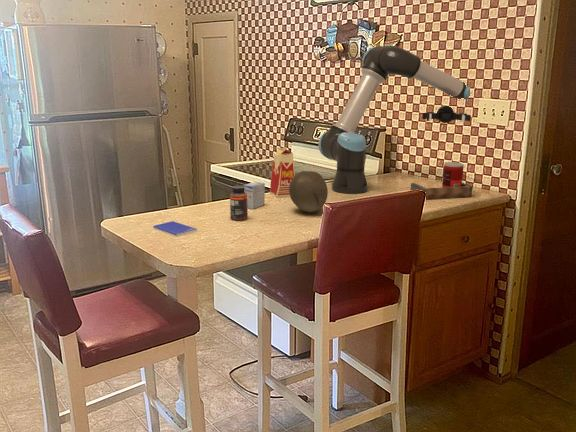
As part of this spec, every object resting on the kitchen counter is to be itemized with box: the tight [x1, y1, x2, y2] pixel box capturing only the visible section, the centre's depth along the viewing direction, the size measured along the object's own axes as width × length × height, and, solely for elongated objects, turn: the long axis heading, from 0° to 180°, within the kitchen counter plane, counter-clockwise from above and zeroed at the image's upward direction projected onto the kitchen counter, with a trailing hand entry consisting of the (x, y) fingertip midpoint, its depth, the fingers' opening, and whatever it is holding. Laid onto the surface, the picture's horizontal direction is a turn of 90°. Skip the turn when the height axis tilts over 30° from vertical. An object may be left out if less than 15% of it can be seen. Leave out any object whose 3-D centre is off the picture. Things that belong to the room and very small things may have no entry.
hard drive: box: [152, 221, 198, 238], centre depth 183 cm, size 2×8×12 cm
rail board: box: [410, 182, 473, 201], centre depth 235 cm, size 22×11×4 cm, turn 107°
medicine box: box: [243, 181, 266, 210], centre depth 212 cm, size 8×4×9 cm, turn 149°
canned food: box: [441, 161, 464, 187], centre depth 236 cm, size 8×8×11 cm
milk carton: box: [269, 146, 296, 198], centre depth 230 cm, size 9×9×20 cm
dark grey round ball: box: [289, 170, 329, 214], centre depth 205 cm, size 14×14×15 cm
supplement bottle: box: [229, 185, 249, 222], centre depth 196 cm, size 6×6×11 cm
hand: (446, 118), depth 241 cm, fingers open, 13 cm apart
